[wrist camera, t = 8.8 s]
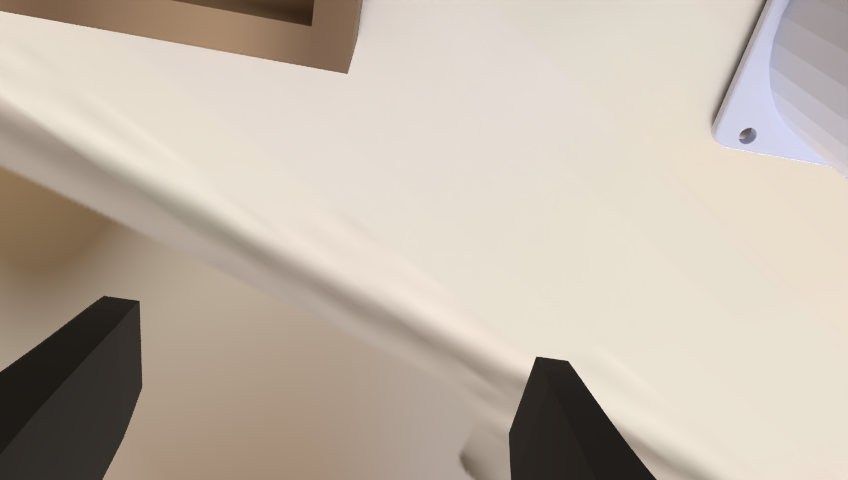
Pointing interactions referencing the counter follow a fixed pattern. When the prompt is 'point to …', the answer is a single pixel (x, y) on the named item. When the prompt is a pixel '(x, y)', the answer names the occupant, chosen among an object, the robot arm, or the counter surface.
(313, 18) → the parts box
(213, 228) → the counter surface
